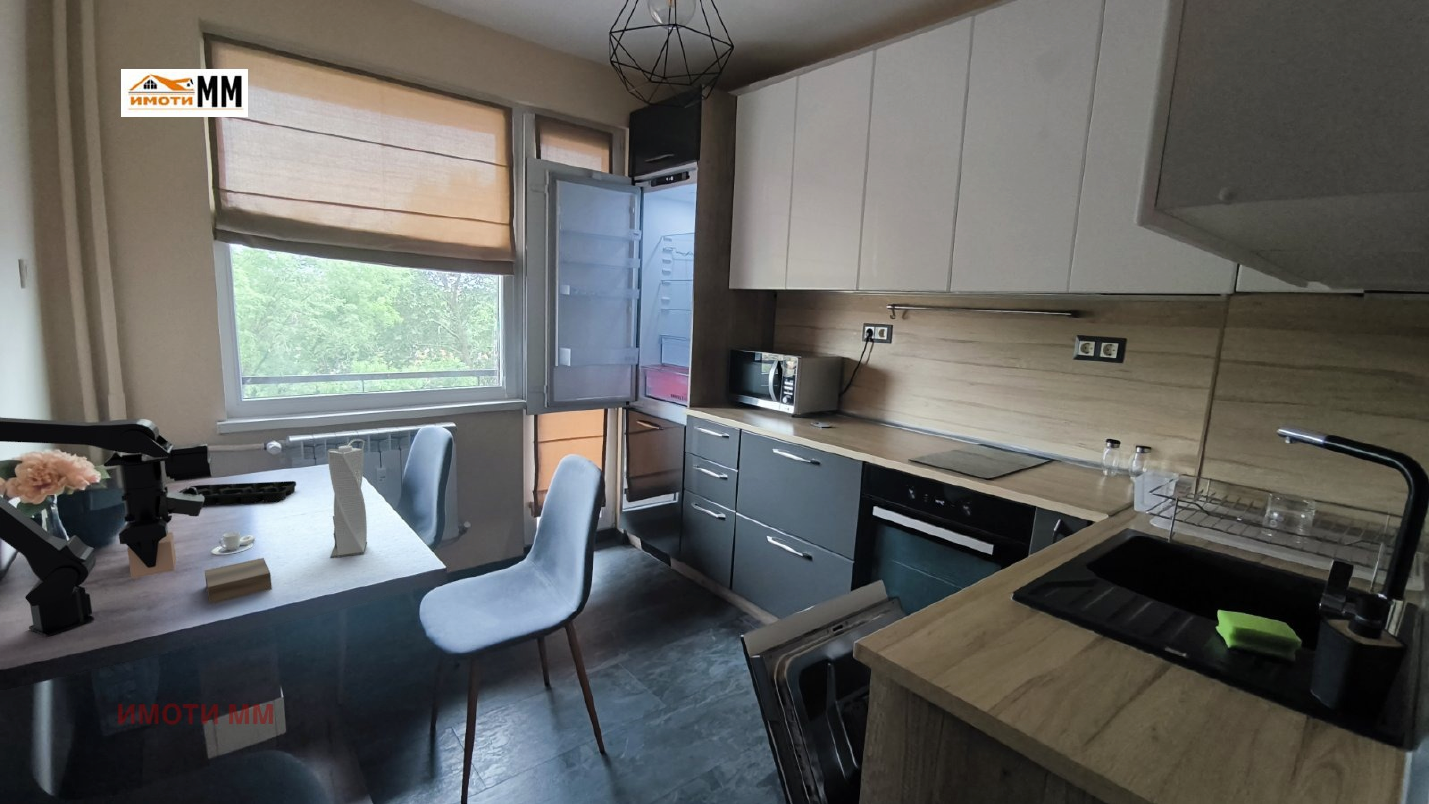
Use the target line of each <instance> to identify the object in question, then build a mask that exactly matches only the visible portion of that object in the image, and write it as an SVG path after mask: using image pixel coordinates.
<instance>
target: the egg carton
mask: <svg viewBox="0 0 1429 804" xmlns="http://www.w3.org/2000/svg"><path fill="white" fill-rule="evenodd" d="M296 486H297V482H296V481H295V480H294V481H293V480H292V481H291V480H290V481H286V480H285V481H268V482H266V481H264V482H244V483H241V482H240V483H221V484H218V483H217V484H199V485H190V486H189V487H194V488H196V489H197V493H198V495H200V494H201V495H202V496H204V497H205V498H204V503H203V505H202V507H207V506H214V505H217V504H218V505H219V506H225V505H227V506H230V505H237V504H239V503H241V504H242V505H243V504H244V505H248V504H258V503H261V502H263V503H267V504H268V503H269V504H270V503H271V504H272V503H280V502H283V501H285V500H286V499H287V497H288V496H291V495H292V494H293V493H295V490H296ZM184 489H185V488H183V489H182V490H179V491H178V492H179V493H181V492H182V491H183V490H184Z"/></svg>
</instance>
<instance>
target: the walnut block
mask: <svg viewBox="0 0 1429 804" xmlns="http://www.w3.org/2000/svg"><path fill="white" fill-rule="evenodd" d="M266 562H267V561H266V560H265V558H264V557H261V558H257V559H252V560H248V561H243V562H237V563H233V564H227V565H224V566H220V567H215V568H209V569H205V570H204V576H205V584H206V585H205V586H206V591H207V597H208V601H209V605H212V604H216V603H217V604H218V603H221V602H225V601H229V600H233V599H238V598H241V597H246V596H250V595H253V594H258V593H262V592H265V591H270V590H272V588H273V587H272V578H271V576H272V575H271V572H270V570H269V566H268V565H267V563H266Z"/></svg>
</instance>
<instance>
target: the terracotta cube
mask: <svg viewBox="0 0 1429 804" xmlns="http://www.w3.org/2000/svg"><path fill="white" fill-rule="evenodd" d="M175 547H176V545H175V540H174V532H173V531H171V532H169V531H168V534H167V536H166V537H164V538H163V539H162V540H160V541H159V544H158V552H157V560H156V566H155V567H151V568H148V567H147V566H146V565H145V564H144V563H143V562H142V561H141V559H140V558H139V557H138V556H137V555H136V554H135V553H134V552H133V551H132V550H131V549H130V548H129V547H128V546H127V548H126V549H127V550H126V551H127V556H128V563H129V571H130V578H131V579H137V578H141V577H146V576H152V575H157V574H161V573H166V572H167V573H168V572H173V571H175V567H176V562H177V555H176V548H175Z"/></svg>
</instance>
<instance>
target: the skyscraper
mask: <svg viewBox="0 0 1429 804" xmlns="http://www.w3.org/2000/svg"><path fill="white" fill-rule="evenodd" d="M353 442H362V446H361V448H357V447H353V445H351V444H353ZM365 442H366V441H365V440H364V439H361V438H354V439H351V440H349V442H348V444H347V445H341V446H340V445H339V446H338V449H336V448H329V449H328V450H327V452H326V453H327V463H328V468H329V469H328V470H329V475H330V480H331V485H332V490H333V492H334V496H333V516H332V519H333V520H332V521H333V526H334V528H333V529H334V530H333V538H334V545H333V549H332V551H331V553H330V557H329V558H330V559H332V558H333V559H334V558H341V557H348V556H350V557H351V556H357V555H364V554H365V553H366V549H367V546H368V541H367V540H368V539H367V537H368V536H367V534H368V531H367V530H368V529H367V527H368V526H367V525H368V524H367V523H368V521H367V511H366V503H365V497H364V493H363V491H362V485H363V484H362V483H363V476H364V449H365V448H364V447H365Z"/></svg>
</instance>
